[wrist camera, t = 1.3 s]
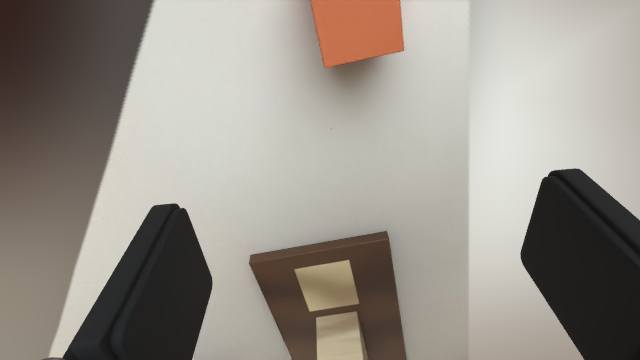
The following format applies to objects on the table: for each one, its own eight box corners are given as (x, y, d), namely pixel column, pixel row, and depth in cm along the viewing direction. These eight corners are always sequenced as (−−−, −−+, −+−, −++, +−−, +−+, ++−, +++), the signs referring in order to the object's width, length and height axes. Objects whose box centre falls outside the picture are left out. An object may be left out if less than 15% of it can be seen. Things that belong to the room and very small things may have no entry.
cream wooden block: (316, 317, 35) (317, 367, 31) (356, 310, 35) (363, 361, 31) (326, 346, 38) (328, 396, 34) (364, 340, 38) (371, 390, 33)
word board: (250, 254, 32) (248, 264, 31) (386, 230, 31) (389, 239, 30) (307, 383, 44) (307, 393, 43) (407, 369, 43) (409, 379, 42)
